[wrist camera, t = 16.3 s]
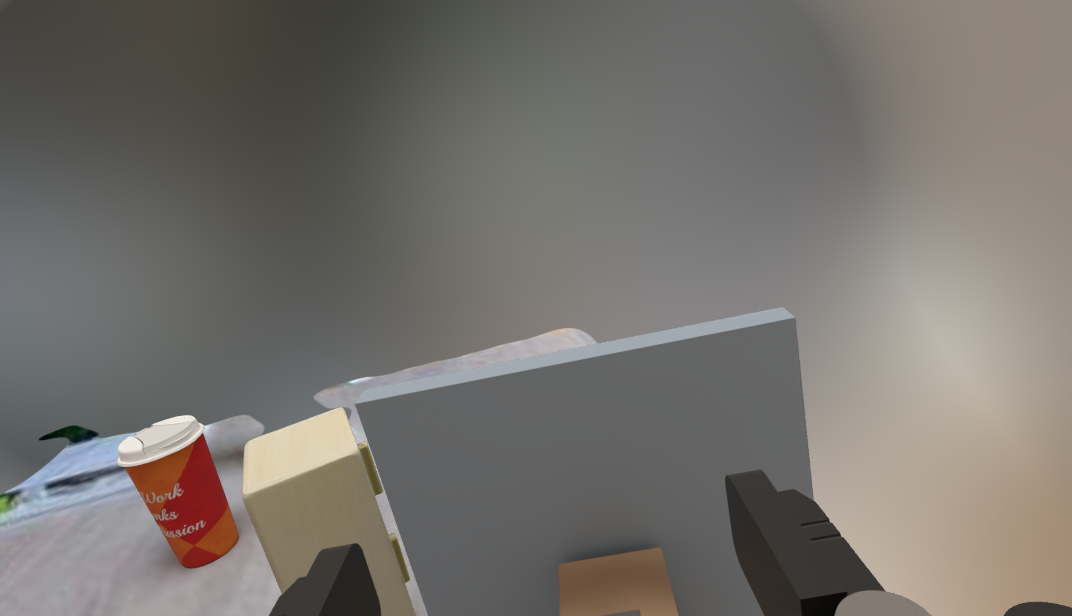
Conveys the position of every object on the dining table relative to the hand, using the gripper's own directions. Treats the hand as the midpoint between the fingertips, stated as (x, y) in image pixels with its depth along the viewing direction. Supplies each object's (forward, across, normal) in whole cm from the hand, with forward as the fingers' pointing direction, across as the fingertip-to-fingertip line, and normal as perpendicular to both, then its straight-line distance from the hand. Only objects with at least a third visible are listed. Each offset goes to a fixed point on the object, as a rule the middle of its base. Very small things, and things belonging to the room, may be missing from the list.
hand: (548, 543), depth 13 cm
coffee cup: (+46, -43, -28) cm, 68 cm away
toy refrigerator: (+23, -16, -28) cm, 39 cm away
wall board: (+15, +1, -27) cm, 31 cm away
